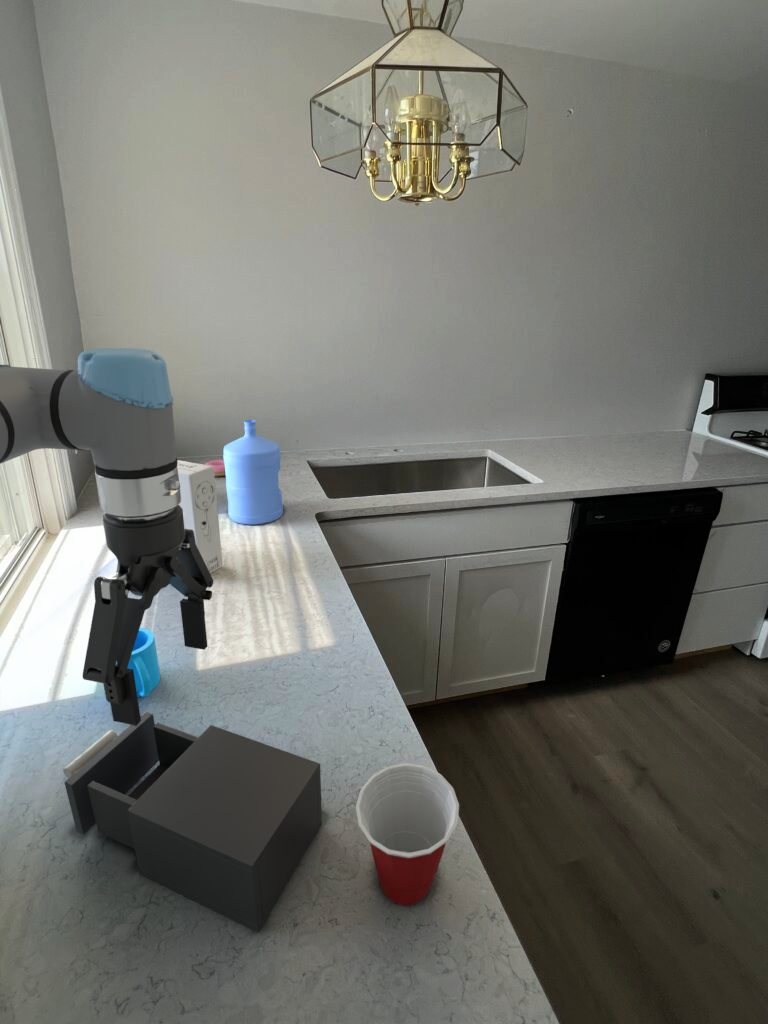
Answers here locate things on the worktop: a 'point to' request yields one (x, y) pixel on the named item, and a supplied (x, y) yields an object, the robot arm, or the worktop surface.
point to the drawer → (120, 775)
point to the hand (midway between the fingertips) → (165, 680)
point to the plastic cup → (407, 827)
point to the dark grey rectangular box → (228, 824)
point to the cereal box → (201, 510)
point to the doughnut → (217, 467)
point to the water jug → (253, 478)
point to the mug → (145, 663)
